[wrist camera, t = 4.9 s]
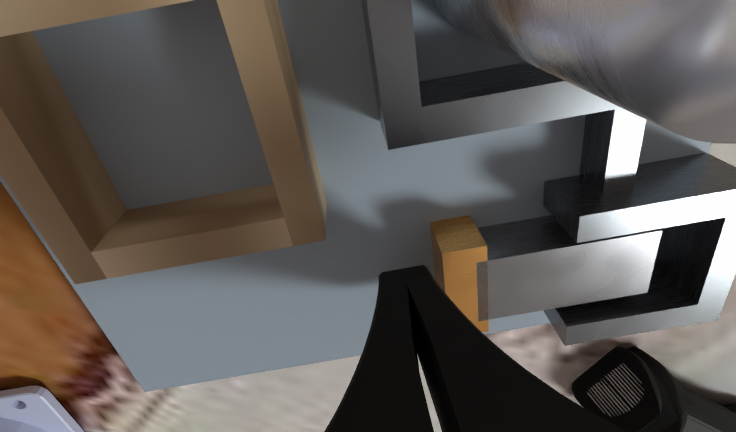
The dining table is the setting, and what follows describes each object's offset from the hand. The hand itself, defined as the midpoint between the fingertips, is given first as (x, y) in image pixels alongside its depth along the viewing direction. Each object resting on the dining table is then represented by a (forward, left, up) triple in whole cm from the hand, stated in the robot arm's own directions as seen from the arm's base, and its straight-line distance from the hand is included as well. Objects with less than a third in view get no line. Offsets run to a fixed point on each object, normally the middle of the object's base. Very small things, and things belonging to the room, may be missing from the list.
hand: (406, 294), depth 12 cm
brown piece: (-5, +6, -1) cm, 8 cm away
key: (+5, 0, -1) cm, 5 cm away
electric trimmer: (+13, -12, -3) cm, 18 cm away
